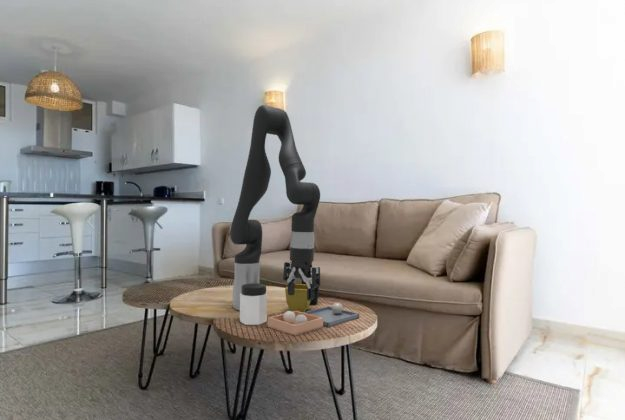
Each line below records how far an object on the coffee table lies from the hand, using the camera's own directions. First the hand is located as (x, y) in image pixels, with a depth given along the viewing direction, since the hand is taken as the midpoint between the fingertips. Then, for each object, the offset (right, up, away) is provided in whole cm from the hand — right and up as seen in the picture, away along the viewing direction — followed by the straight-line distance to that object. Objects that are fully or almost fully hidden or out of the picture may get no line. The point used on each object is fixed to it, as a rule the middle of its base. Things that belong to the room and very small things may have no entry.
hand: (300, 297), depth 124 cm
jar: (-16, -10, +7) cm, 20 cm away
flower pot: (-1, -10, +22) cm, 24 cm away
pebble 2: (+12, -9, +16) cm, 22 cm away
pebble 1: (0, -9, 0) cm, 9 cm away
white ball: (-4, -9, +3) cm, 10 cm away
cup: (+3, -10, +33) cm, 35 cm away
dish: (-2, -10, +2) cm, 10 cm away
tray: (+9, -10, +13) cm, 18 cm away
